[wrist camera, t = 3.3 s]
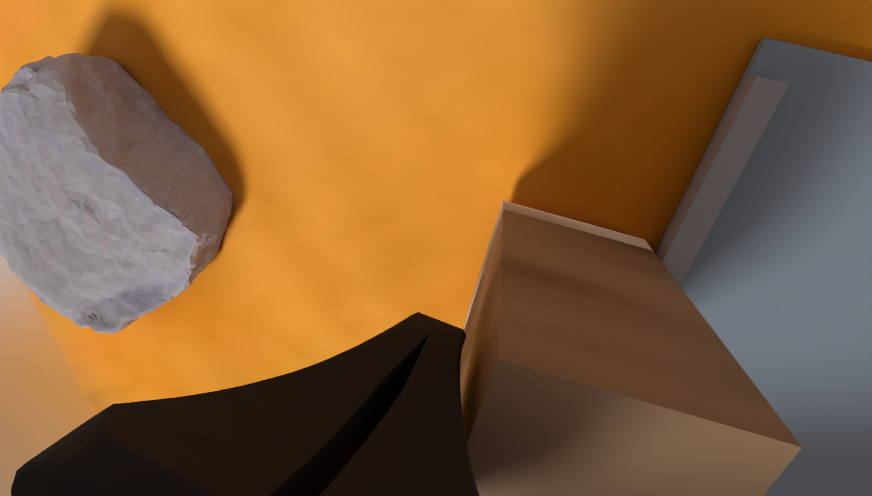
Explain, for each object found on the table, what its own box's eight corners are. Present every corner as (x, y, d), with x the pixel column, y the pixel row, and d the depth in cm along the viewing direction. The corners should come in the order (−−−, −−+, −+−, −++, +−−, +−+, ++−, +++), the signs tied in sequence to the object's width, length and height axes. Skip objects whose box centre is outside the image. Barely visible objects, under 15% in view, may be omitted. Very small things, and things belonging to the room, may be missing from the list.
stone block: (281, 193, 22) (99, 28, 19) (222, 243, 18) (-19, 40, 15) (177, 309, 27) (27, 193, 25) (115, 366, 23) (-73, 234, 21)
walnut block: (589, 353, 17) (663, 617, 9) (465, 317, 18) (429, 544, 9) (644, 239, 15) (802, 447, 7) (503, 200, 15) (498, 359, 7)
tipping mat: (869, 613, 17) (887, 647, 16) (546, 472, 20) (544, 494, 19) (1371, 178, 10) (1464, 190, 9) (761, 38, 12) (777, 34, 11)
